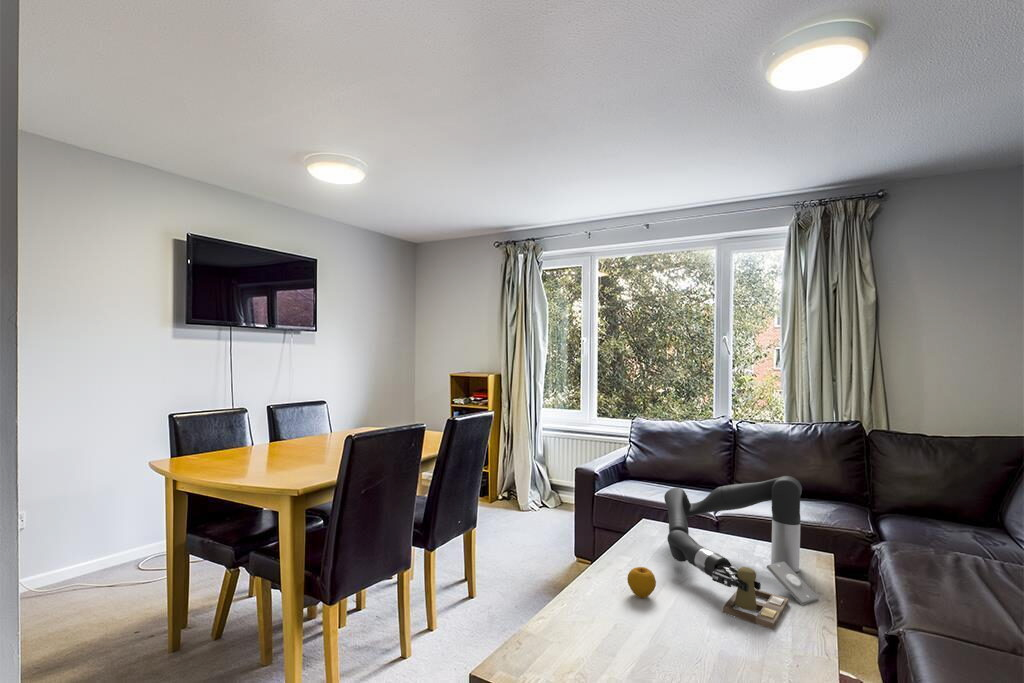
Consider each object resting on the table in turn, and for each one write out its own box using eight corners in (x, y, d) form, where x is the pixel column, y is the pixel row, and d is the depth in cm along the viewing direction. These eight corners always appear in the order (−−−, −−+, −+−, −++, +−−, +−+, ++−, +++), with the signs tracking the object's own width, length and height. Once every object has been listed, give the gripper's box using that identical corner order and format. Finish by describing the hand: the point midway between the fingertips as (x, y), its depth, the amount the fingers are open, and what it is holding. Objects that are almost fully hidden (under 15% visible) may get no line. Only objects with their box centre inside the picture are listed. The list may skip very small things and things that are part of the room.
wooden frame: (741, 590, 171) (741, 583, 171) (788, 604, 163) (788, 597, 163) (722, 612, 156) (722, 605, 156) (773, 629, 147) (773, 621, 147)
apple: (633, 587, 171) (634, 559, 171) (659, 595, 166) (660, 567, 166) (622, 596, 164) (623, 568, 164) (649, 605, 159) (650, 576, 159)
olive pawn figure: (731, 600, 159) (732, 564, 159) (749, 600, 160) (751, 564, 160) (741, 610, 153) (742, 573, 153) (760, 610, 154) (762, 573, 154)
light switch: (803, 600, 162) (768, 562, 173) (795, 613, 164) (760, 575, 176) (821, 596, 166) (785, 559, 177) (812, 608, 168) (777, 571, 180)
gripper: (728, 573, 172) (771, 597, 156) (694, 578, 167) (734, 603, 151) (729, 550, 172) (772, 572, 156) (695, 555, 167) (735, 577, 151)
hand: (753, 587), depth 154 cm, fingers closed on olive pawn figure, 4 cm apart
